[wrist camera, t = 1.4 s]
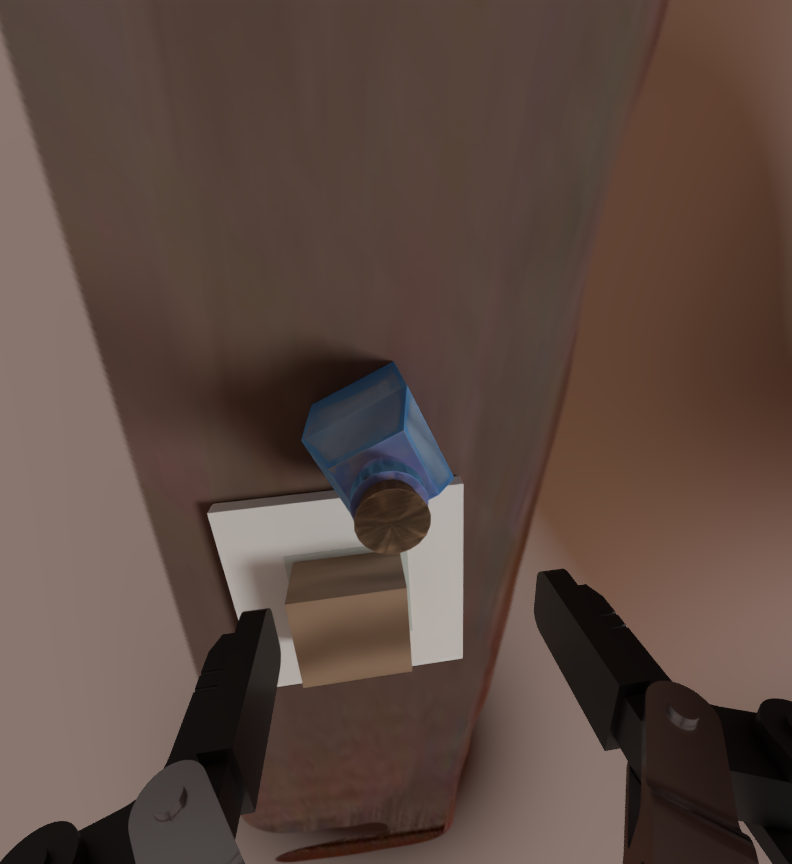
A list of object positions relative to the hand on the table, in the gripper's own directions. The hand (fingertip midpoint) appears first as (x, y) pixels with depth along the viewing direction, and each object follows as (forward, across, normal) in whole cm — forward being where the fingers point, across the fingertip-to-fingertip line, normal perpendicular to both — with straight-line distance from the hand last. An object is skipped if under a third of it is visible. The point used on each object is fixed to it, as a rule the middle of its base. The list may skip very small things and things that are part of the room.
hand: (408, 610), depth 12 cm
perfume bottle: (+17, 0, 0) cm, 17 cm away
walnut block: (+15, +3, +14) cm, 21 cm away
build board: (+16, +3, +14) cm, 22 cm away
